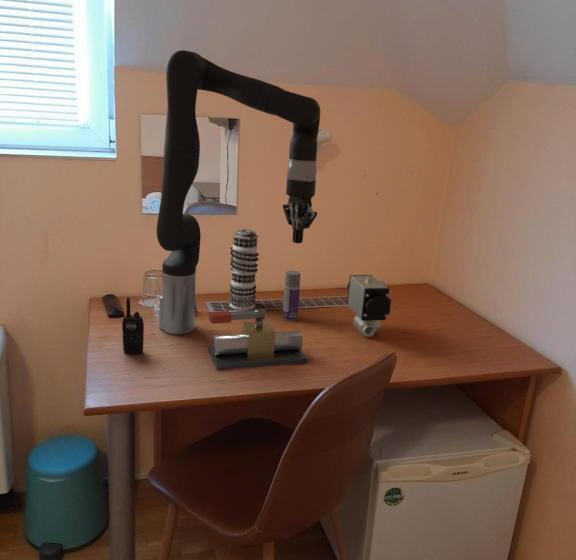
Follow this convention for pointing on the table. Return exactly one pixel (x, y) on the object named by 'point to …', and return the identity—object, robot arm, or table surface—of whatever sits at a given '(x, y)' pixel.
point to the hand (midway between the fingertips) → (297, 242)
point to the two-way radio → (132, 332)
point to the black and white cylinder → (243, 270)
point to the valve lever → (235, 316)
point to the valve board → (258, 360)
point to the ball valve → (368, 302)
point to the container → (291, 295)
